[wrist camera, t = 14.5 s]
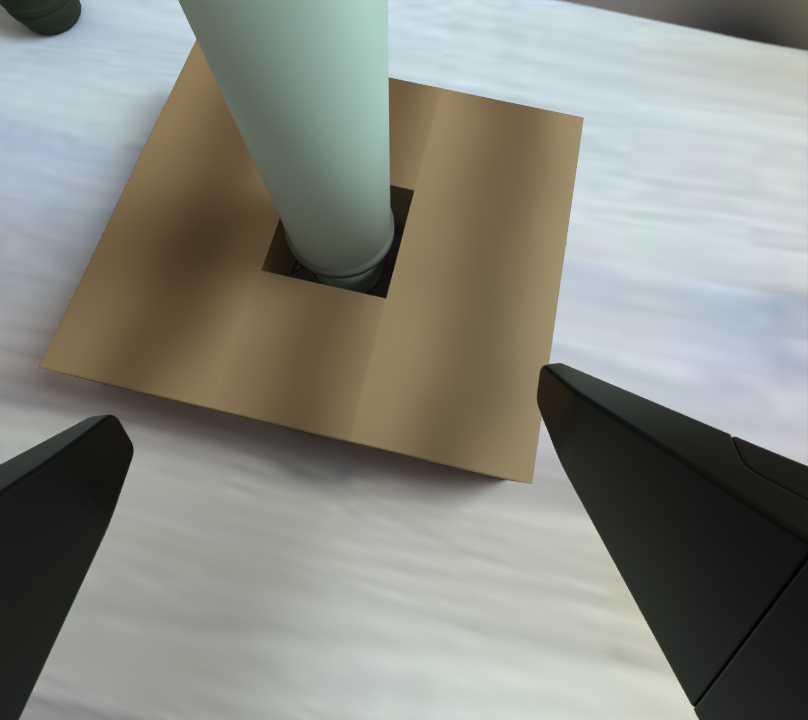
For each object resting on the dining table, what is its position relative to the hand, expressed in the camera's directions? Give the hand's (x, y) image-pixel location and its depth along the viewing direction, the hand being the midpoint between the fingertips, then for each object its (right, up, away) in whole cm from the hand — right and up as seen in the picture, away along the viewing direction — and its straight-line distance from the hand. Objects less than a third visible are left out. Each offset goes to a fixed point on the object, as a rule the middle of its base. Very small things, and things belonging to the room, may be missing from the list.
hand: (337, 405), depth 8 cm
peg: (-1, +5, +10) cm, 12 cm away
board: (-1, +5, +10) cm, 12 cm away
